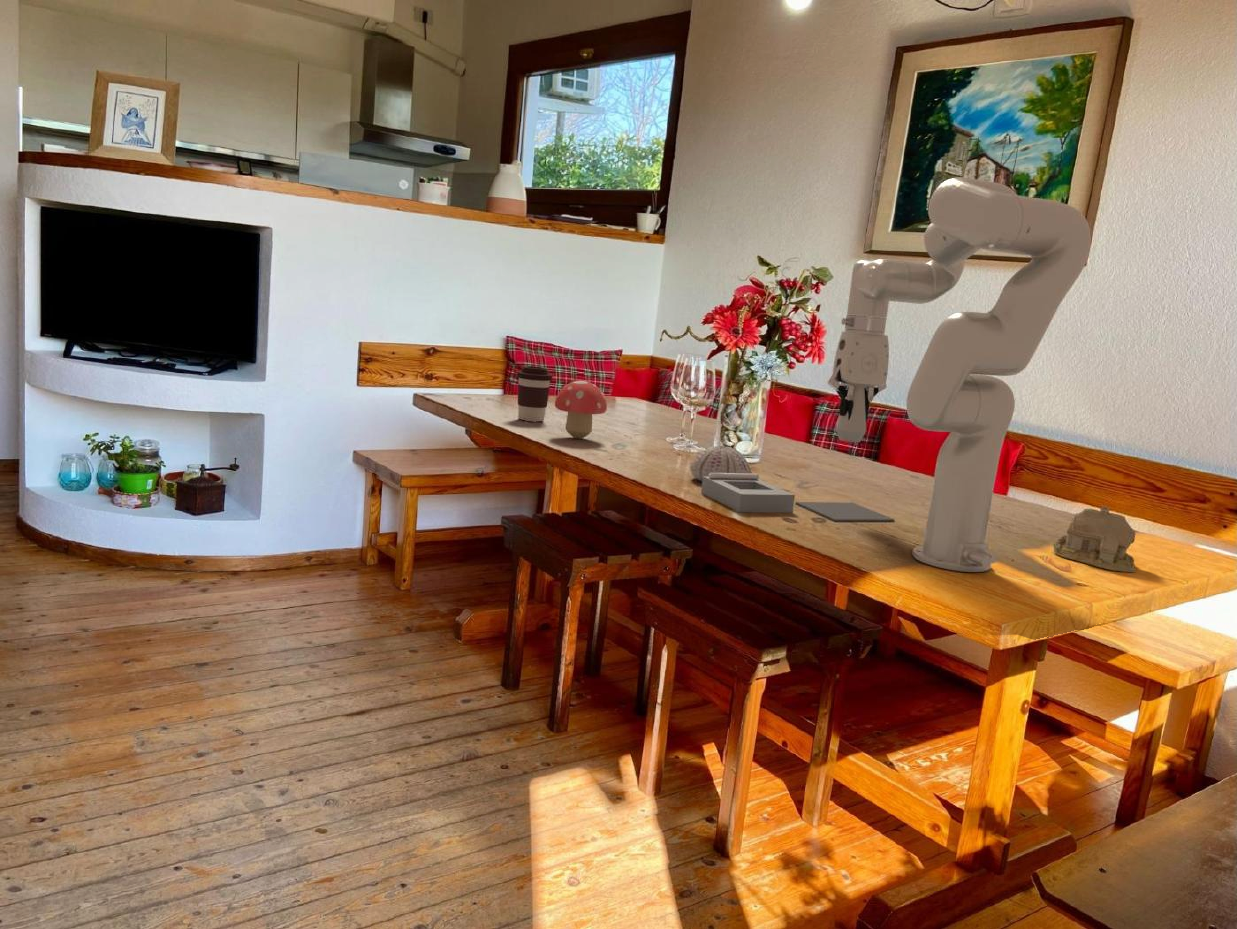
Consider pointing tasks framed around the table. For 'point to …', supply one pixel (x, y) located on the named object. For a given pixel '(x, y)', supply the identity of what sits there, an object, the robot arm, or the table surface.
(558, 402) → the decorative mushroom
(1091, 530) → the ceramic model
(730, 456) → the sea urchin shell
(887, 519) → the mat
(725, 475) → the caddy
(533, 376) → the coffee cup
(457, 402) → the table surface
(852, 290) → the robot arm
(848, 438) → the salt shaker
